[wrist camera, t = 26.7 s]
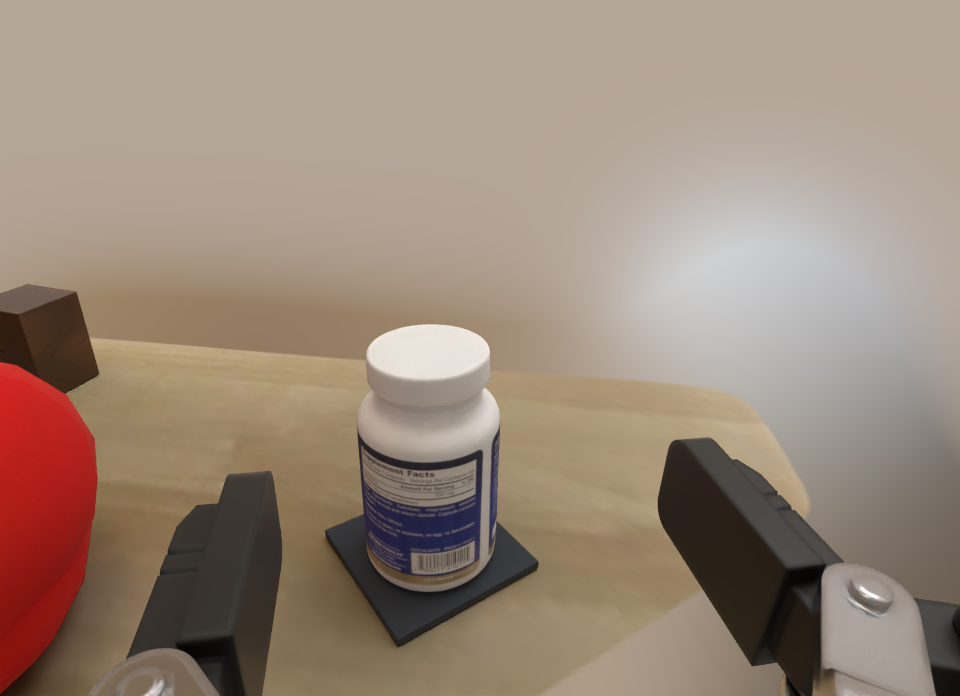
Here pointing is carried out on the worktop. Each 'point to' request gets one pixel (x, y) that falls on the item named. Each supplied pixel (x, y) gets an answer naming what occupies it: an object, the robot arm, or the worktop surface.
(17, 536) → the tomato
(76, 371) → the walnut block
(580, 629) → the worktop surface
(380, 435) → the pill bottle
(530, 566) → the rubber mat
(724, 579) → the robot arm
